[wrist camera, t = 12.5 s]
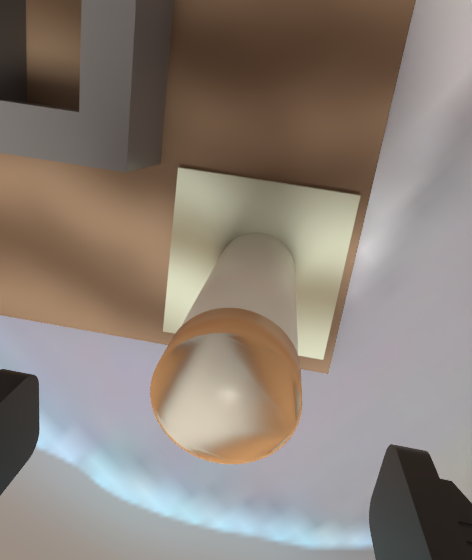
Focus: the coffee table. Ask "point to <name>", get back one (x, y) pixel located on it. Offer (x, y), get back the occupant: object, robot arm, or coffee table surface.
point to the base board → (208, 167)
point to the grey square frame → (93, 88)
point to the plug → (235, 359)
